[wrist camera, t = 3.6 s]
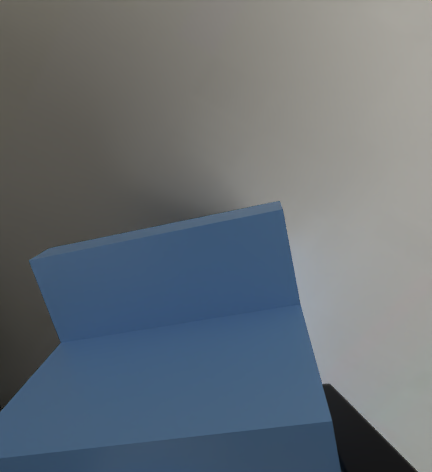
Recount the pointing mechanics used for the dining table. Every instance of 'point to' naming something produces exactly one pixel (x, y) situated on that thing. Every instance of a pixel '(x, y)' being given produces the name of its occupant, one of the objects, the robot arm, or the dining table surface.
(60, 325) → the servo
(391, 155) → the dining table surface
